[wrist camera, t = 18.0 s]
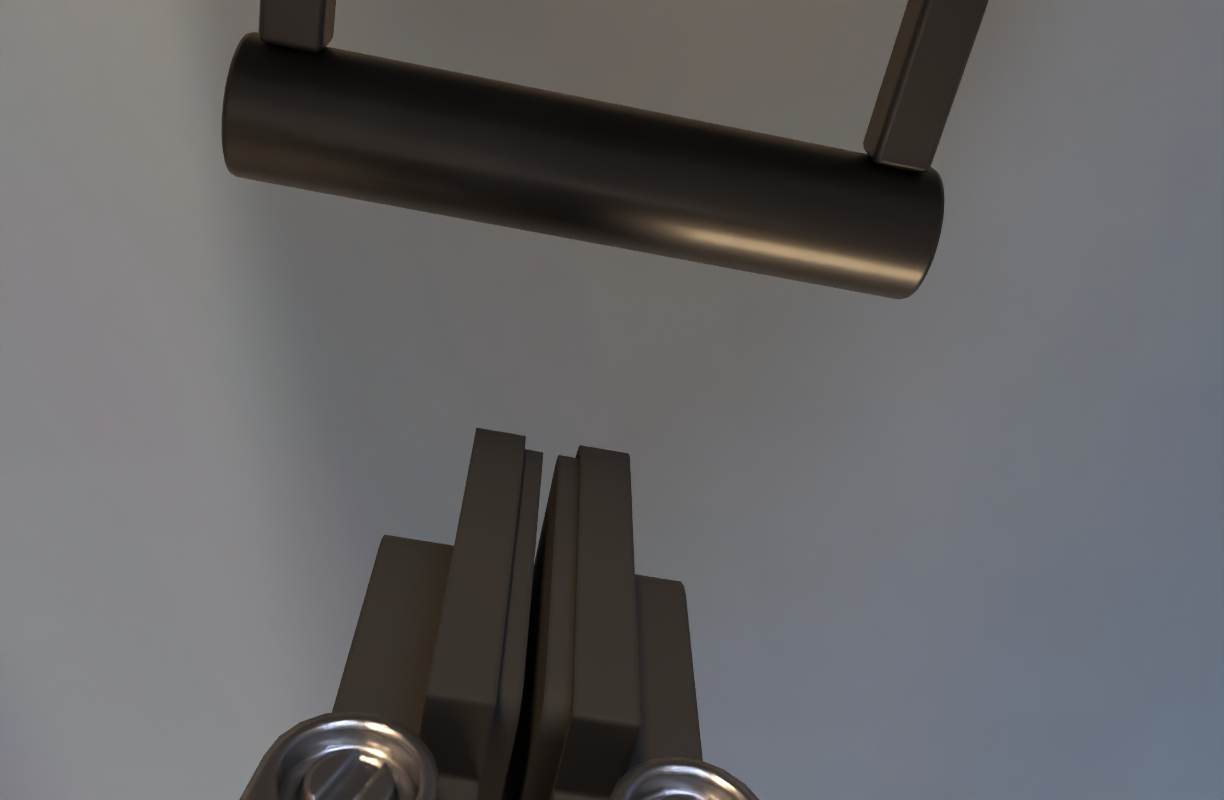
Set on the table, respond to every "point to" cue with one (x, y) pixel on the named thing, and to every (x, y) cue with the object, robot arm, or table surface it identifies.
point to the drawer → (606, 154)
